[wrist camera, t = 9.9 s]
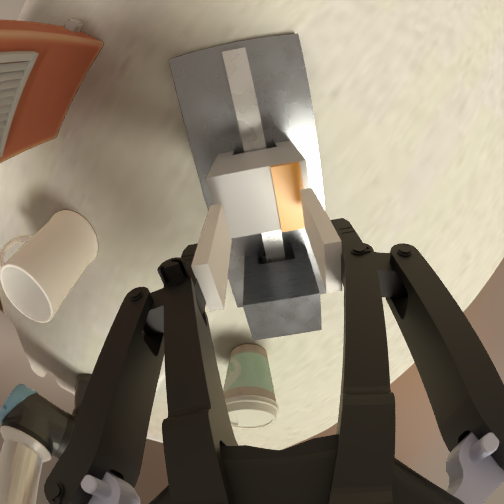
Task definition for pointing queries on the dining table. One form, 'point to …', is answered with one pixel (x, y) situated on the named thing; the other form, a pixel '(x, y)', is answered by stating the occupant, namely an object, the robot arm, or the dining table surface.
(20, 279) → the mug
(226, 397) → the coffee cup
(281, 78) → the rail board
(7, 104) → the control panel
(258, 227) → the module
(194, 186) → the dining table surface
